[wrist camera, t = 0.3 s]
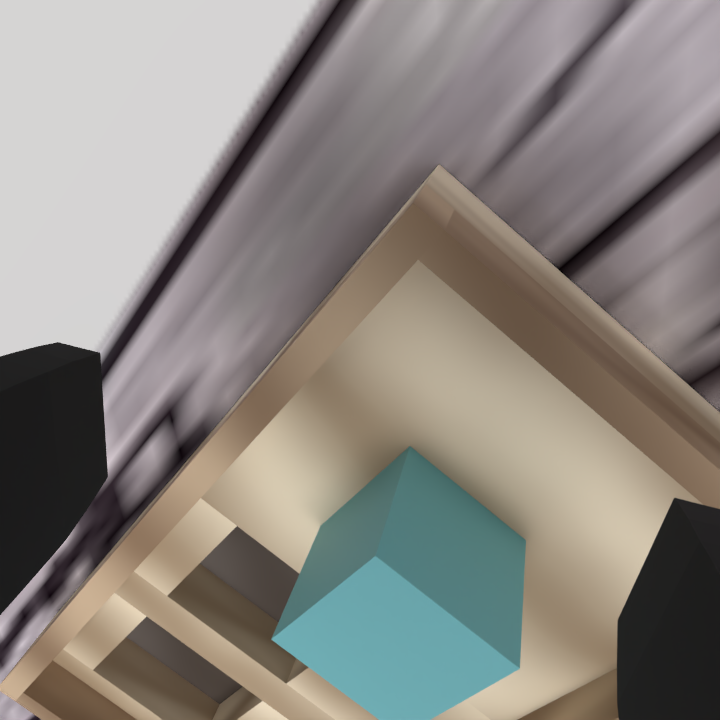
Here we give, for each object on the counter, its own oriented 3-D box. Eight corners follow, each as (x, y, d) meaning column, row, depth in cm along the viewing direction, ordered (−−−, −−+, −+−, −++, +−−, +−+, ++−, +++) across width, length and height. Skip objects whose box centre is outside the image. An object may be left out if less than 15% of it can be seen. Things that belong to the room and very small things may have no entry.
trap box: (438, 163, 16) (413, 202, 13) (836, 515, 18) (893, 621, 15) (56, 613, 28) (-4, 688, 25) (317, 800, 30) (290, 891, 27)
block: (410, 445, 18) (375, 555, 14) (526, 540, 18) (519, 668, 15) (320, 526, 20) (271, 639, 16) (427, 608, 20) (401, 736, 17)
